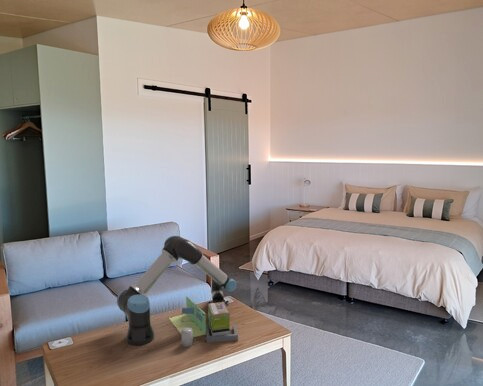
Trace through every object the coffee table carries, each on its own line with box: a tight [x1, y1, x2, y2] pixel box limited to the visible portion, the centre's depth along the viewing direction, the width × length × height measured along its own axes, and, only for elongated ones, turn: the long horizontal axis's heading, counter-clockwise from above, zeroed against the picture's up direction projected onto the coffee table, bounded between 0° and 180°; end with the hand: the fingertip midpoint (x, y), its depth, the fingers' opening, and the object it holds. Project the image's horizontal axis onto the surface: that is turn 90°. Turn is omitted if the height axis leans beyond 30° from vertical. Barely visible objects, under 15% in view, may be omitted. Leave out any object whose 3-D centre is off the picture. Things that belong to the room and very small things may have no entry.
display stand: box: [168, 295, 207, 338], centre depth 234 cm, size 30×12×12 cm, turn 28°
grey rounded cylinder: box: [180, 328, 194, 348], centre depth 213 cm, size 6×6×8 cm
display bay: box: [205, 323, 239, 344], centre depth 222 cm, size 17×14×3 cm
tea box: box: [207, 302, 231, 336], centre depth 225 cm, size 15×10×15 cm
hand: (220, 314), depth 233 cm, fingers closed
